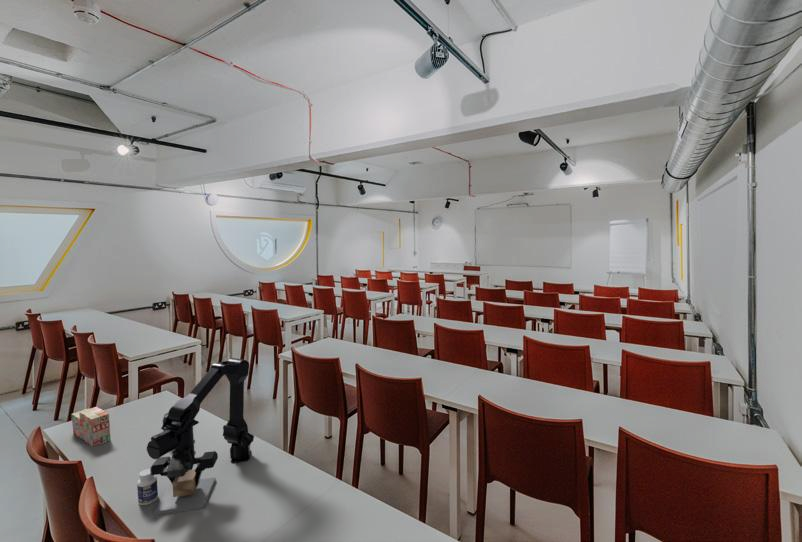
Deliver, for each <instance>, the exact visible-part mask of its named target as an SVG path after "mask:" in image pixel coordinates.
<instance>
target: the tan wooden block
mask: <svg viewBox="0 0 802 542" xmlns="http://www.w3.org/2000/svg"><path fill="white" fill-rule="evenodd" d="M195 469H196V468H195ZM195 469H193V468H192V470H189V471H188V472H186V474H185V475H184V476H182V477H176V478H175V479H174V481H173V482H172V483H171V484H173V497H178V496H185V495H193V494H194V493H195V491H196V489H197V487H198V485H199V483H198V485H197V486H196V483H195V478H196V473H195Z"/></svg>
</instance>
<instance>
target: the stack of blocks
mask: <svg viewBox="0 0 802 542" xmlns="http://www.w3.org/2000/svg"><path fill="white" fill-rule="evenodd" d="M70 415H71V416H70V417H71V423H72V425H71V426H72V433H73V434H74V433H75V434H76V436H77V437H78V436H79V437H80V439H81V438H82V439H81V440H83V441H84V440H85V441H84V442H86V443H87V444H88V443H89V444H88V445H90V446H91V445H92V447H93V448H94V446H95V447H96V445H97V446H99V445H98V444H100V445H102V444H104V443H103V442H105V441H107V442H109V441H108V440H110V441H111V428H110V426H111V425H110V413H109V412H107V411H106V410H104V409H102V408H100V407H97V406H94V407H92V408H85V409H82V410H80V411H76V412H74V413H71V414H70ZM75 434H74V435H75ZM79 437H78V438H79ZM101 443H102V444H101ZM105 443H106V442H105Z"/></svg>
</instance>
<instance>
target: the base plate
mask: <svg viewBox="0 0 802 542" xmlns="http://www.w3.org/2000/svg"><path fill="white" fill-rule="evenodd" d="M216 481H217V480H216V477H205V478H200V480H199V485H198V487H197V489H196V491H195V493H194V494H193V495H185V496H178V497H173V485H172V483H170V486H169V487H168V489H167V490H166V492H165V494H164V496H163V497H162V499H160V501H159V503H158V505H157V506H156V508H155V510H154V513H153V514H154V516H156V515H163V514H172V513H173V514H174V513H177V512H178V513H181V512H185V511H193V510H199V509H204V507H205V505H206V503H207V500H208V498H209V496H210V495H211V491H212V490H213V487H214V486H215V482H216Z"/></svg>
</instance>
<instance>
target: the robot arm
mask: <svg viewBox="0 0 802 542" xmlns="http://www.w3.org/2000/svg"><path fill="white" fill-rule="evenodd" d="M249 370H250V362H249V361H247V360H246V359H241V358H236V357H234V358H233V357H232V358H229V359H228V360H224V361H220V362H215V363H213V364H212V365H211V366H210V369H209V370H208V371H207V372H206V374H205V375H204V376H203V377H202V378H201V379H200V381H199V382H198V383H197V384H196V385H195V387H194V388H193V389H192V390H191V391H190V392H189V394H187V395H186V396H184V397H182V398H181V399H179V400H177V402H175V403H174V405H172V406H171V407H170V408H169V410H168V412H167V413H169V414H168V416H167V418H166V420H165V422H164V424H163V423H162V426H161V427H160V428H161V429H160V430H165V431H162V432H159V433H158V434H155V435H152V436H151V437H150V441H149V442H148V443H147V446H146V451H147V454H148V456H149V457H150V458H151V459H152V460H155V461H154V462H153V463H152V465H151V467H150V468H149V469H150V473H151V475H156V476H158V475H160V476H162V477H167V478H168V480H169V481H170V484H172V482H173V481H174V479H175V478H176V477H182V476H184V475H185V474H186V472H188V471H189V470H193V468H194V465H196V468H195V473H196V478H195V483H196V486H197V485H198V483H199V480H200V479H201V475H202V473H203V472H204V471H205V470H206V469H212V468H215V467H214V466H215V465H216V462H217V460H218V458H219V455H218V453H217V451H215V450H211V451H206V452H204V453H203V455H201V456H199V457H195V456H196V454H197V452H196V450H195V443H196V439H194V436H195V435H194V427H195V426H196V425H198V424H199V423H200V421H198V420H196V419H195V418H196V416H197V415H198V413H199V411H200V409H201V404H202V403H203V401H204V400H205V399H206V397H208V395H209V393H211V391H212V390H213V389H214V387H215V386H216V385H217V384H218V382H219V381H220V380H221V379H222V378H223V376H224V375H225V376H226V379H227V380H228V382H229V419H228V421H227V423H226V424H224V425H223V427H222V429H223V430H222V436H223V438H224V440H226V442H227V443H228V444H230V448H229V453H230V454H229V455H230V457H229V458H230V463H239V462H240V463H241V462H247V461H249V459H250V457H251V454H252V450H251V445H252V443H253V442H254V438H255V435H254V434H252V433H250V432H249V428H248V423H247V422H246V420H245V418H244V411H245V410H244V405H245V404H244V403H245V402H244V398H245V397H244V396H245V395H244V393H245V380H246V379H247V377H248V376H249ZM172 422H175V423H179V424H180V425H178V426H177V425H173V424H171V423H172ZM170 452H172V456H170V455H169V456H165V455H166V454H168V453H170ZM172 485H173V484H172Z"/></svg>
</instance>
